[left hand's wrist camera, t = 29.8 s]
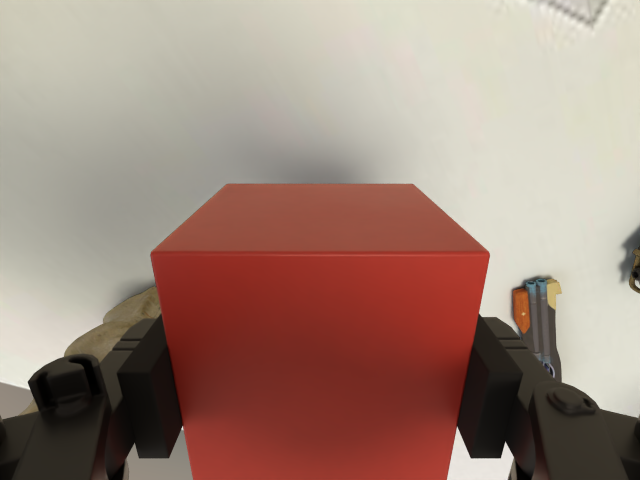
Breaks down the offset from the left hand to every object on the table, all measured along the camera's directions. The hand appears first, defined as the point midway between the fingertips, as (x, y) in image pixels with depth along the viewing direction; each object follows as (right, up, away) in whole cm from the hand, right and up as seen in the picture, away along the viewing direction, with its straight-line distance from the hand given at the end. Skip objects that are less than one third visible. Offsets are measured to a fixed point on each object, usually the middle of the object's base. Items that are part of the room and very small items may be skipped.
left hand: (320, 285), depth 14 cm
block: (0, +1, +1) cm, 1 cm away
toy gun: (+22, -11, +26) cm, 36 cm away
